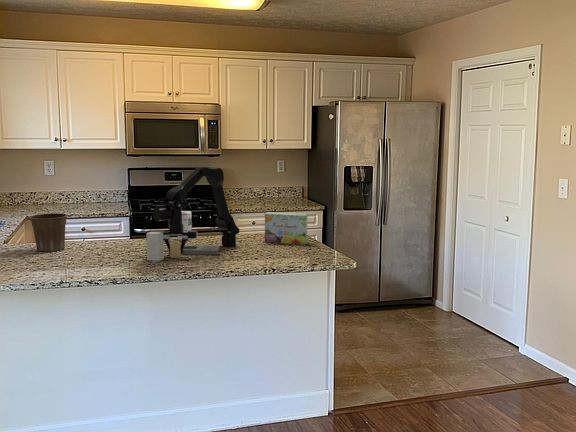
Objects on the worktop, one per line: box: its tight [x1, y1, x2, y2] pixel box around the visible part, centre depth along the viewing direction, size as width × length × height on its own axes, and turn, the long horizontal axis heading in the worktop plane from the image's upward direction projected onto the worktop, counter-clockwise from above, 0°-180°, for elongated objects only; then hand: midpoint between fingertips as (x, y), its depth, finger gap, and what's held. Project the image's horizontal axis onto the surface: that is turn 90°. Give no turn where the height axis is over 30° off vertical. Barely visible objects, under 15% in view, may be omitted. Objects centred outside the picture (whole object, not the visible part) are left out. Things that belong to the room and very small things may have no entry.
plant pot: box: [29, 212, 68, 253], centre depth 265 cm, size 16×16×16 cm
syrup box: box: [177, 210, 193, 241], centre depth 293 cm, size 6×6×14 cm
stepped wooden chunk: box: [169, 240, 183, 259], centre depth 253 cm, size 4×5×7 cm
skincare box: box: [146, 231, 165, 262], centre depth 247 cm, size 6×4×12 cm
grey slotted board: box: [168, 244, 221, 256], centre depth 264 cm, size 22×11×2 cm, turn 92°
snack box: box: [264, 211, 308, 246], centre depth 287 cm, size 21×6×15 cm, turn 77°
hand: (176, 253), depth 254 cm, fingers closed on stepped wooden chunk, 4 cm apart
